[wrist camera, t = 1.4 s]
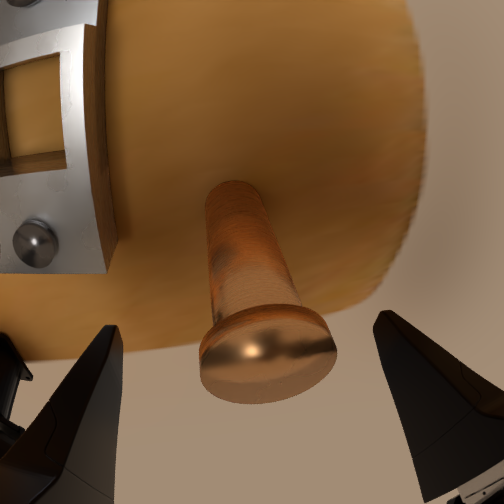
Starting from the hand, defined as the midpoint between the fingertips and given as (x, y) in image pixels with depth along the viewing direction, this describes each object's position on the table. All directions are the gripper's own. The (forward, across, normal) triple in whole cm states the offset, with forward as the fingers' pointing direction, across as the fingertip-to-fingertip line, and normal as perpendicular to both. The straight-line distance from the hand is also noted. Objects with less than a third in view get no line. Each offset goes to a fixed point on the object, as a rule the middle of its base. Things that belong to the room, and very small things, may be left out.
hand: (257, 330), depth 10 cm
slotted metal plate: (+8, +10, -6) cm, 14 cm away
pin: (+8, 0, 0) cm, 9 cm away
